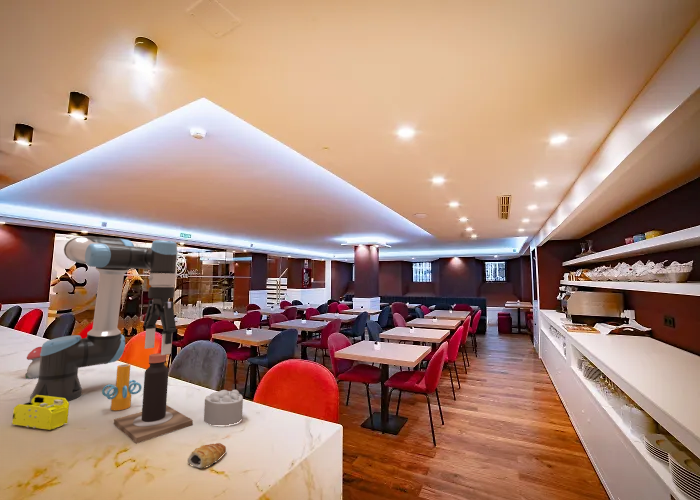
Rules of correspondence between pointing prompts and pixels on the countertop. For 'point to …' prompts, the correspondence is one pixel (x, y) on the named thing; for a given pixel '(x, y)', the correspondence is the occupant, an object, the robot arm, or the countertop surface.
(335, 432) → the countertop surface
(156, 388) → the vinegar
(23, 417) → the yellow toy chassis
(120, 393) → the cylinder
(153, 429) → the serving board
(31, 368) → the decorative ornament
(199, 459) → the pastry
